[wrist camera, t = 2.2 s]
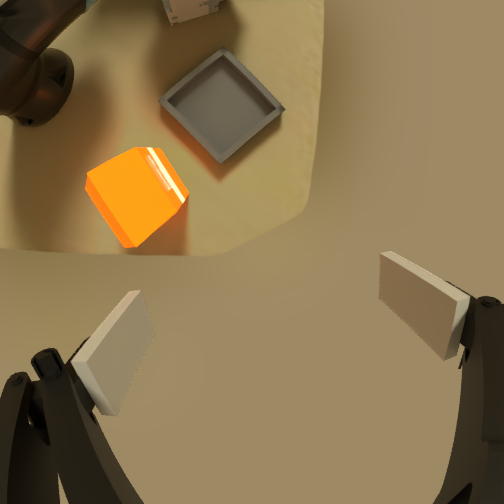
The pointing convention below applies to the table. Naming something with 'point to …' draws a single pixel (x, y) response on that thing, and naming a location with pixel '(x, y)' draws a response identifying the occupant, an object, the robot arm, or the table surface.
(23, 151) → the table surface
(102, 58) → the table surface
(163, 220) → the juice carton
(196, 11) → the circuit breaker
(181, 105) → the tray
